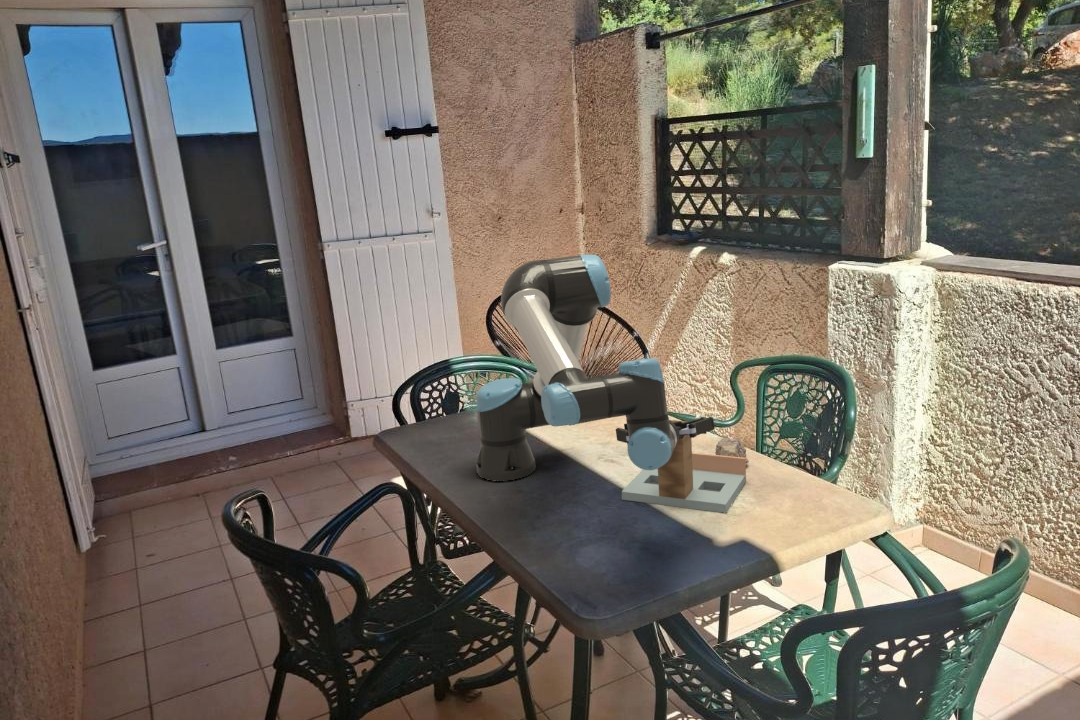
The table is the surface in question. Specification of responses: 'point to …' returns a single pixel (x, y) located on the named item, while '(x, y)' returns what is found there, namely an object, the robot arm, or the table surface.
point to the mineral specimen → (731, 448)
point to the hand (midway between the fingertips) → (668, 424)
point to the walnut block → (677, 471)
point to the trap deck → (695, 484)
